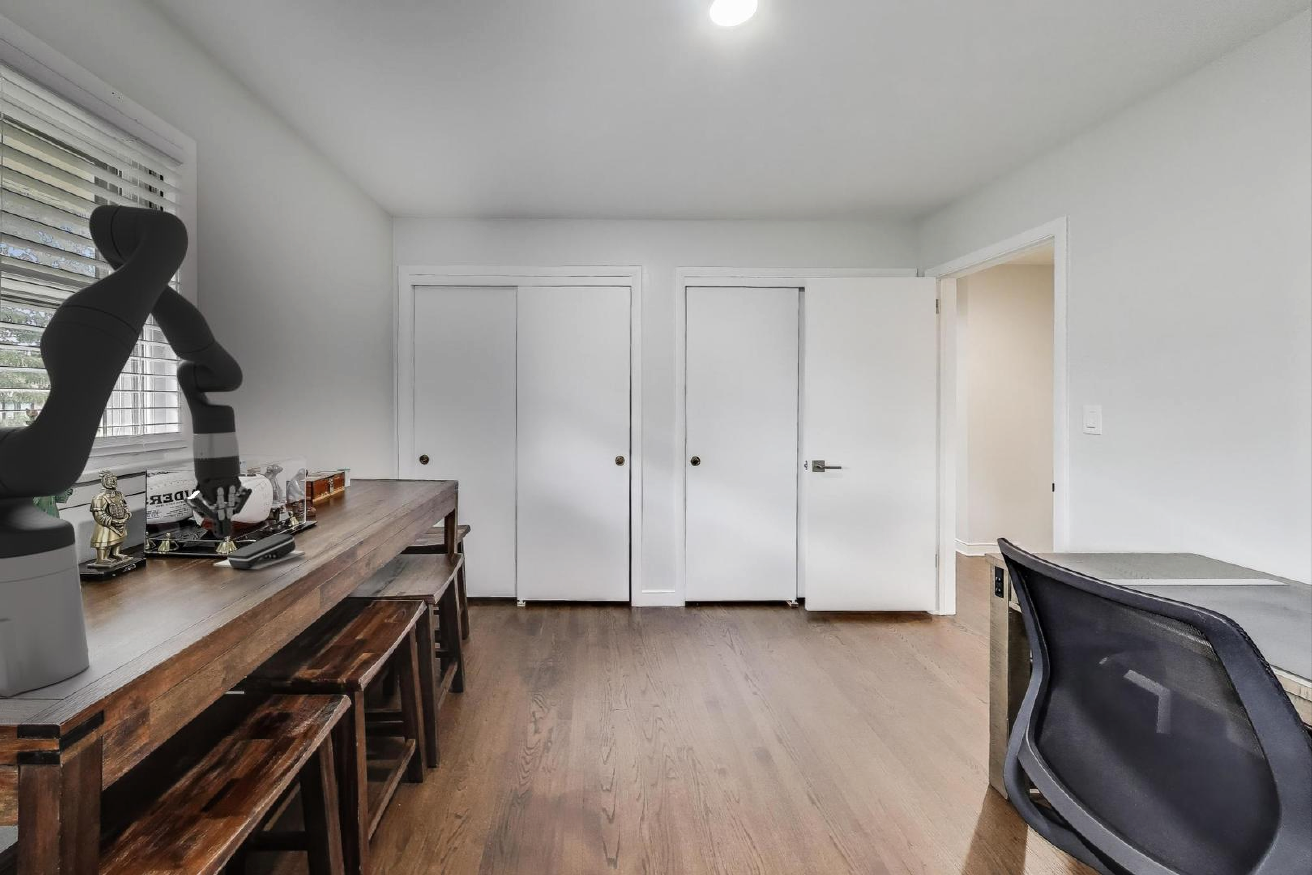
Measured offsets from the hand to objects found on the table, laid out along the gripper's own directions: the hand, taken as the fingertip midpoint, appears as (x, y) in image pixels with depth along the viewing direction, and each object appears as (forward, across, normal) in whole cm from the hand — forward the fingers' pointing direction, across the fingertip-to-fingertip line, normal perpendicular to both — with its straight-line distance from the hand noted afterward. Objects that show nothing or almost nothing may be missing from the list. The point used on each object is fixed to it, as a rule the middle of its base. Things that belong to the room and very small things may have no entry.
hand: (223, 536), depth 119 cm
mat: (+7, +8, 0) cm, 11 cm away
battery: (+6, +1, -2) cm, 6 cm away
